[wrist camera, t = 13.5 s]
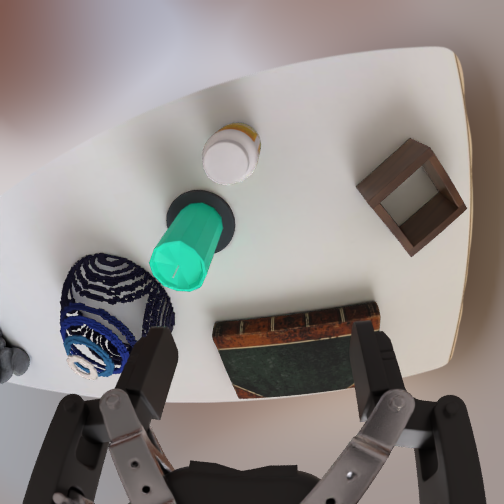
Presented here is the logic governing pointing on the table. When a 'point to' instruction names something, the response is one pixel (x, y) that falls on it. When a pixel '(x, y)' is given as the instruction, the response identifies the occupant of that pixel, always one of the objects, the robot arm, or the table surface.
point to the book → (291, 351)
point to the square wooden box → (431, 214)
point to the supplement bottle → (231, 154)
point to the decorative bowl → (113, 340)
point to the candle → (187, 248)
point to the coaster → (212, 201)
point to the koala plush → (11, 361)
